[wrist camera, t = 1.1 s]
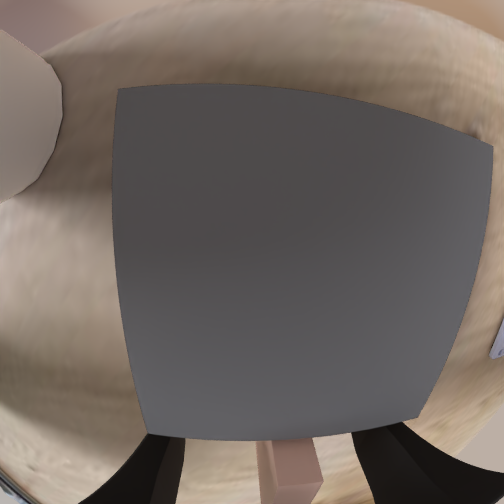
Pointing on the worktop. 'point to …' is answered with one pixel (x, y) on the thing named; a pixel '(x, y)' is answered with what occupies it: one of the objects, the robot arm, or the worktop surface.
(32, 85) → the foam cup
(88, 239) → the worktop surface
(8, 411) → the worktop surface
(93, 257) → the worktop surface
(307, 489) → the pink stepped block
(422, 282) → the grey square box
